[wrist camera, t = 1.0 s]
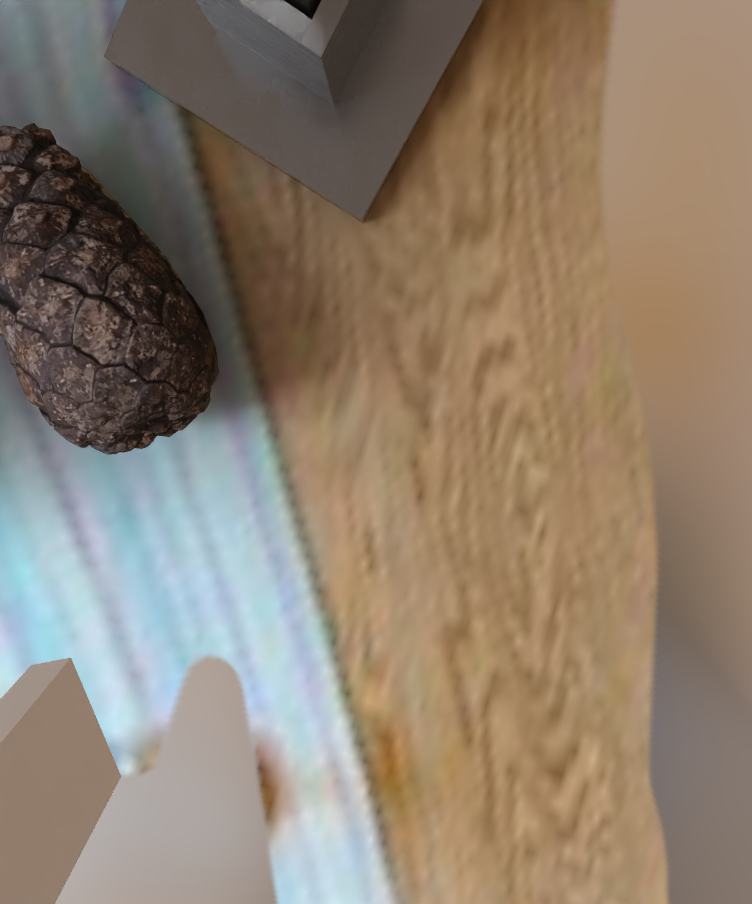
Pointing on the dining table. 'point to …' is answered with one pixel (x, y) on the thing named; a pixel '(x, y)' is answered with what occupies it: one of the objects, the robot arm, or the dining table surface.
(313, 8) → the column
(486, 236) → the dining table surface
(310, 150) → the stand base
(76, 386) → the pine cone
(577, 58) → the dining table surface
